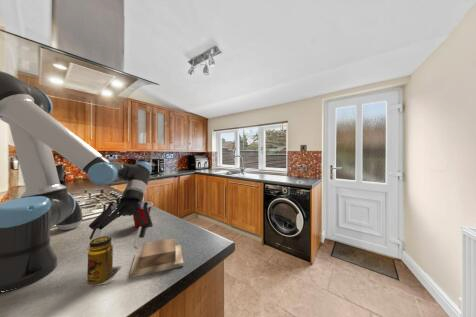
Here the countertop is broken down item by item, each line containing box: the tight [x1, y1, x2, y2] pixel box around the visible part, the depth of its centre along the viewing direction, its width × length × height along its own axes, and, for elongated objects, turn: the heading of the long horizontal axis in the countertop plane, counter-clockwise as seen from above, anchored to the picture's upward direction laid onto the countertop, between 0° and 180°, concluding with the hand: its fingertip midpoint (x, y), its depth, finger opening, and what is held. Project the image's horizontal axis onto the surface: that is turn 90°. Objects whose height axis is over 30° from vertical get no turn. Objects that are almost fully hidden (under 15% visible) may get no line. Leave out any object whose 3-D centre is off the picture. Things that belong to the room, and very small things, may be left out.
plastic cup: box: [132, 201, 154, 229], centre depth 93 cm, size 11×11×12 cm
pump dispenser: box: [55, 199, 84, 231], centre depth 88 cm, size 10×10×15 cm
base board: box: [129, 237, 184, 278], centre depth 62 cm, size 16×13×5 cm
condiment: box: [79, 235, 122, 288], centre depth 53 cm, size 7×8×12 cm
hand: (113, 249), depth 56 cm, fingers open, 13 cm apart
